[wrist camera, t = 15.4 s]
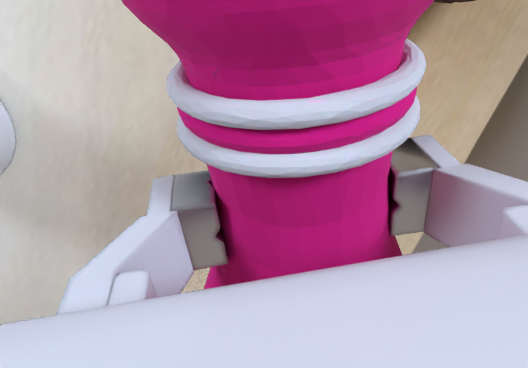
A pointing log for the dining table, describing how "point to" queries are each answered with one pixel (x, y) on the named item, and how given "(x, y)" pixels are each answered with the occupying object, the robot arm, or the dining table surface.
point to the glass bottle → (452, 1)
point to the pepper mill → (293, 122)
